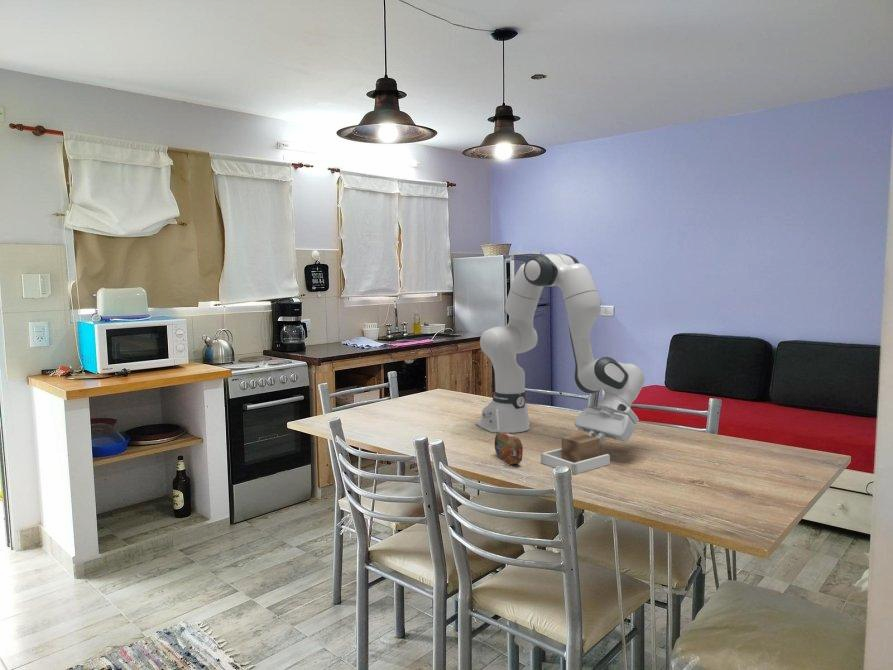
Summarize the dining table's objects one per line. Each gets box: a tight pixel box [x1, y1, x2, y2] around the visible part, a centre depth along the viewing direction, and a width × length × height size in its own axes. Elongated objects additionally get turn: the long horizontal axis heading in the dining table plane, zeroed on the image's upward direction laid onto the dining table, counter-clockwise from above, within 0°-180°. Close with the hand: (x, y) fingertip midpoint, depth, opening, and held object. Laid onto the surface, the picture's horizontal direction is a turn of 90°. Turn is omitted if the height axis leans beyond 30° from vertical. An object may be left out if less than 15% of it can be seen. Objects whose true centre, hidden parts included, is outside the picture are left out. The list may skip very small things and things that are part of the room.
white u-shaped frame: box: [540, 447, 611, 475], centre depth 182 cm, size 14×15×3 cm
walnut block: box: [561, 433, 601, 463], centre depth 183 cm, size 8×8×8 cm
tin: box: [494, 432, 524, 465], centre depth 186 cm, size 15×3×8 cm, turn 21°
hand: (591, 445), depth 185 cm, fingers closed
